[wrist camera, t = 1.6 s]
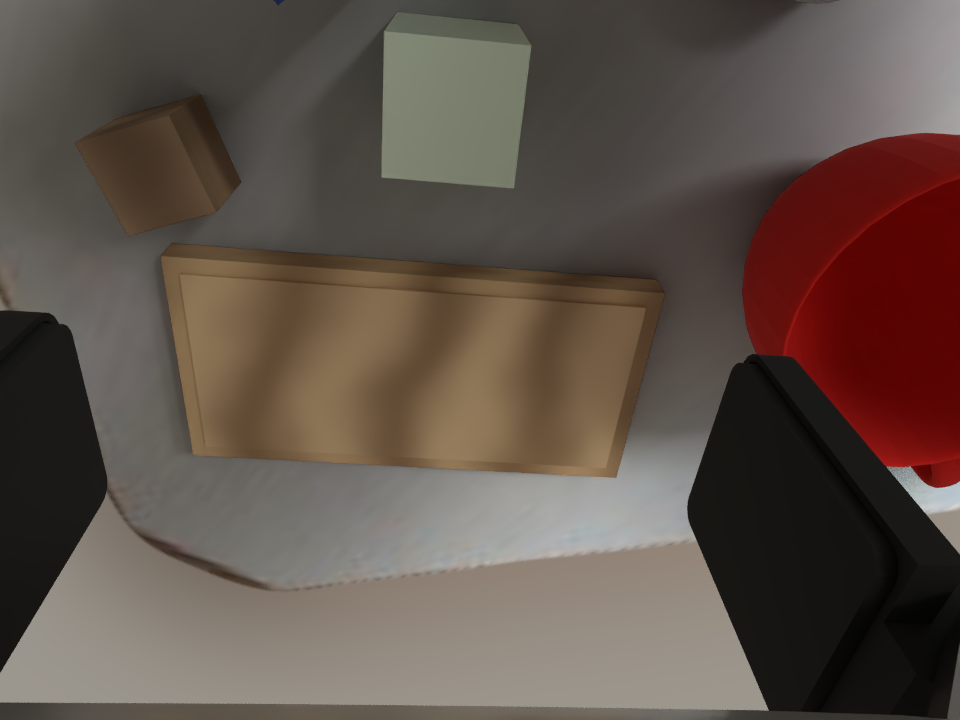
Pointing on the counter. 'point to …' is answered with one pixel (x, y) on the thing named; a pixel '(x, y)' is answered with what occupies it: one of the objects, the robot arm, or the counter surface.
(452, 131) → the sage block
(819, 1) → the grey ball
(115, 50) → the counter surface
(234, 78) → the counter surface
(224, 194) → the walnut block
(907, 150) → the ceramic cup
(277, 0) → the beverage box
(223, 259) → the cutting board
